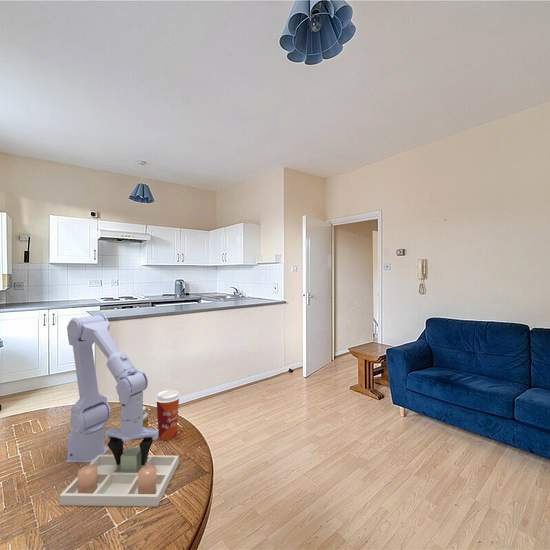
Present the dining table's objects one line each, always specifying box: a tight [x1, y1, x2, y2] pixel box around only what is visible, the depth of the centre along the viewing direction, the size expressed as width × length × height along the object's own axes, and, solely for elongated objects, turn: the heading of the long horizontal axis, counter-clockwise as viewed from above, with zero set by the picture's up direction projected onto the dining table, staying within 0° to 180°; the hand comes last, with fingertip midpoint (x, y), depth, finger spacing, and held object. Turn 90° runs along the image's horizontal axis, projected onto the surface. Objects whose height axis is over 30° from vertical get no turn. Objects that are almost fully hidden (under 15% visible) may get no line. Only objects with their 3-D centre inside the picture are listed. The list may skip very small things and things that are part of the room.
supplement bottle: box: [136, 405, 149, 440], centre depth 107 cm, size 5×5×10 cm
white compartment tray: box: [58, 454, 180, 508], centre depth 82 cm, size 24×16×3 cm
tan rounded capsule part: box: [138, 465, 157, 494], centre depth 78 cm, size 4×4×6 cm
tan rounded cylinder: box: [77, 464, 98, 494], centre depth 78 cm, size 4×4×6 cm
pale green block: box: [121, 446, 143, 473], centre depth 86 cm, size 4×4×6 cm
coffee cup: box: [155, 389, 181, 441], centre depth 106 cm, size 8×8×15 cm
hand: (131, 463), depth 86 cm, fingers open, 6 cm apart
